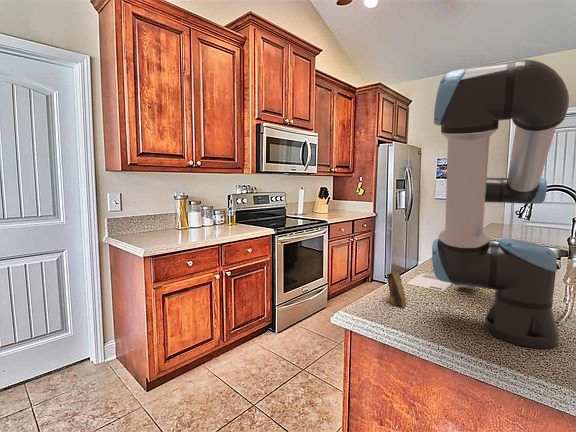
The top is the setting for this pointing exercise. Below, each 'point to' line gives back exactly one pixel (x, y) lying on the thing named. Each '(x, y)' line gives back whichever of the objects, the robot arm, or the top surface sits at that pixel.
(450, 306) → the top surface
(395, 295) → the rock
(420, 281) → the letter
